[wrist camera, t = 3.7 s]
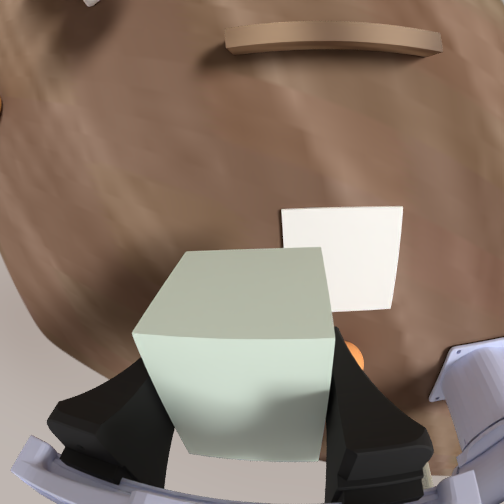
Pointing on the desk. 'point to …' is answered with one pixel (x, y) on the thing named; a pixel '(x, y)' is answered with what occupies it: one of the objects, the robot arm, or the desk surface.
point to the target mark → (351, 250)
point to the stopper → (331, 37)
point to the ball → (356, 354)
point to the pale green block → (243, 352)
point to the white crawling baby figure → (90, 2)
